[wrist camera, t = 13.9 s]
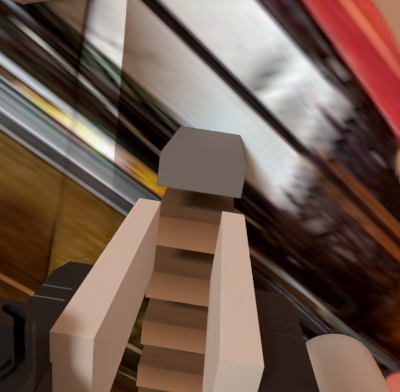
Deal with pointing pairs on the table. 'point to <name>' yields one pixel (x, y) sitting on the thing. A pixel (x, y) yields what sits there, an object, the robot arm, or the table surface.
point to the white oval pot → (344, 365)
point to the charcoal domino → (203, 162)
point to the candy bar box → (28, 1)
